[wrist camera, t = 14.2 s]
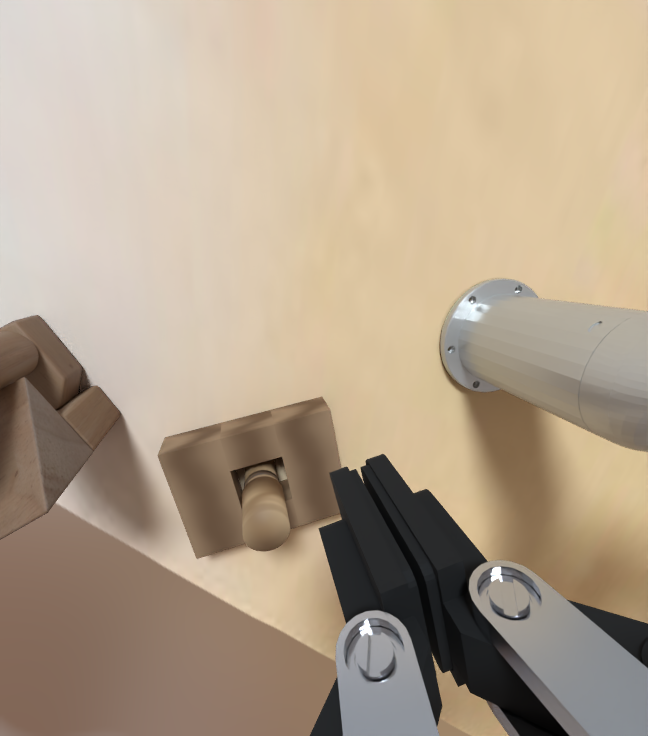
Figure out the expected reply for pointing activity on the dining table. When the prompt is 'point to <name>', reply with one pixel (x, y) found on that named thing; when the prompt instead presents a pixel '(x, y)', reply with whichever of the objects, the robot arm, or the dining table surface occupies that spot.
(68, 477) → the brown jointed angular part
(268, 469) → the peg
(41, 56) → the dining table surface
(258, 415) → the board
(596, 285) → the dining table surface
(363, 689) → the robot arm
